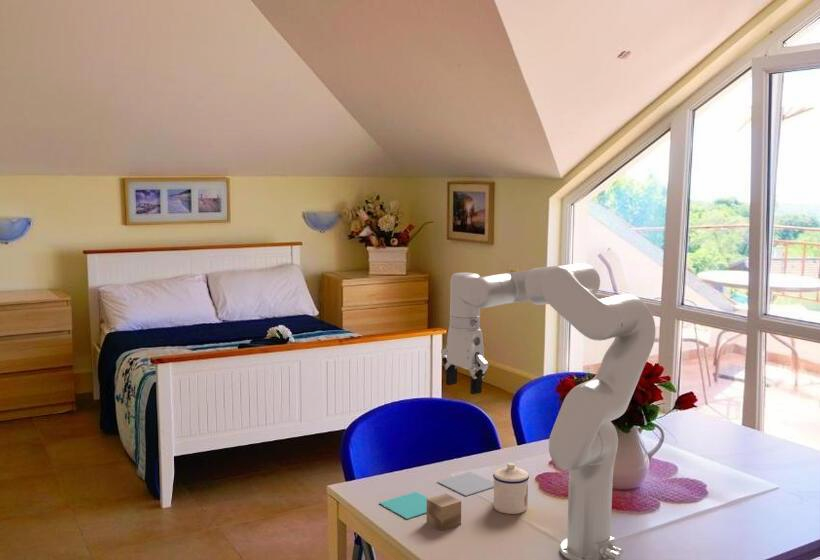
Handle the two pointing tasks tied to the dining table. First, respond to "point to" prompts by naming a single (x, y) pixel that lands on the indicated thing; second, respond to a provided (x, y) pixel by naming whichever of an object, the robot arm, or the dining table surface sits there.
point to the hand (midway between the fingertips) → (463, 388)
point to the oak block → (443, 511)
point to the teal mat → (408, 505)
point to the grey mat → (467, 483)
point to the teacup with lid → (510, 489)
